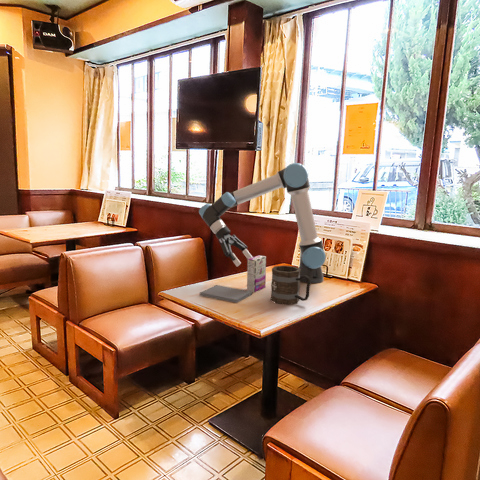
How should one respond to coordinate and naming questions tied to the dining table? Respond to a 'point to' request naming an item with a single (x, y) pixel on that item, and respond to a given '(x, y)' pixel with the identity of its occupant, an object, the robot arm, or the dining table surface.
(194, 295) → the dining table surface
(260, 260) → the candy bar box
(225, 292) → the slate board
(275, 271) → the mug
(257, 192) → the robot arm
